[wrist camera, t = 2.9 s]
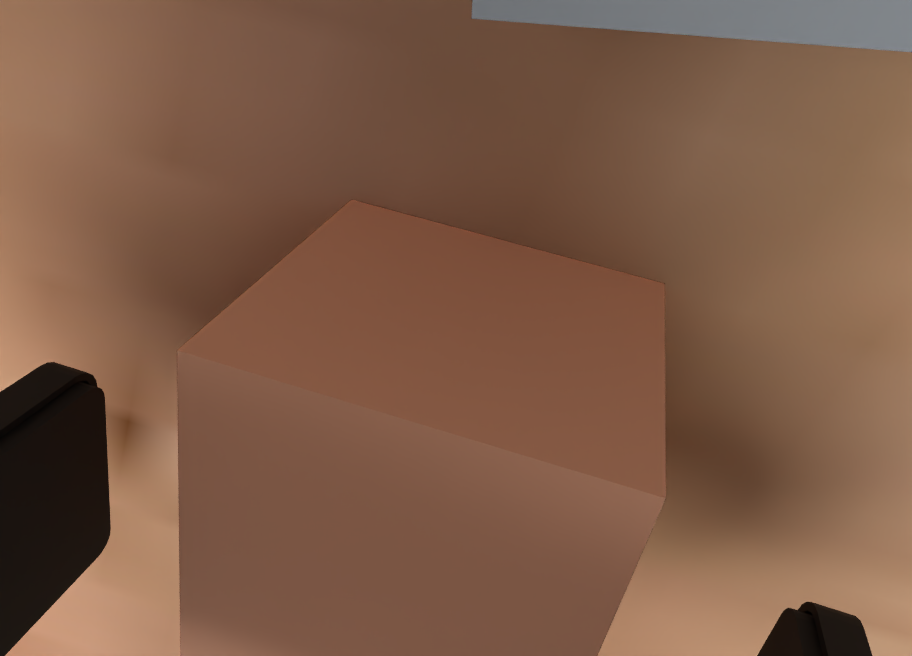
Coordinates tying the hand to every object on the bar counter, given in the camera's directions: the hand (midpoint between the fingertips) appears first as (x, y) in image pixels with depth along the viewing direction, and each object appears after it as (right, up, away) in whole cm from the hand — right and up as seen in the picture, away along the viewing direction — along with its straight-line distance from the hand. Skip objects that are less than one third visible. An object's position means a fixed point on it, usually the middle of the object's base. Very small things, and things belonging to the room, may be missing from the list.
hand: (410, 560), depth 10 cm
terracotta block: (+1, +2, +3) cm, 4 cm away
